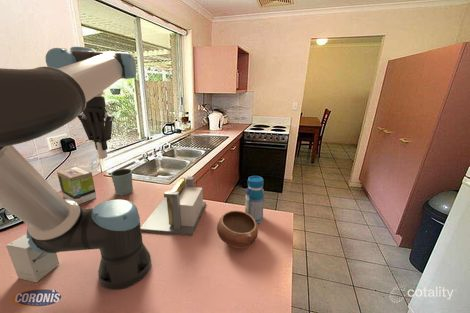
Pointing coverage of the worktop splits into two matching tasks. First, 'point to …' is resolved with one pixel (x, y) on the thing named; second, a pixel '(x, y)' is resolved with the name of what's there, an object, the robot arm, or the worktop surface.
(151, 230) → the base
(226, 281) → the worktop surface
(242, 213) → the bowl
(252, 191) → the beverage bottle
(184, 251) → the worktop surface
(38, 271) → the supplement box
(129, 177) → the drinking glass
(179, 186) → the tan rectangular upright panel
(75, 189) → the tea box
